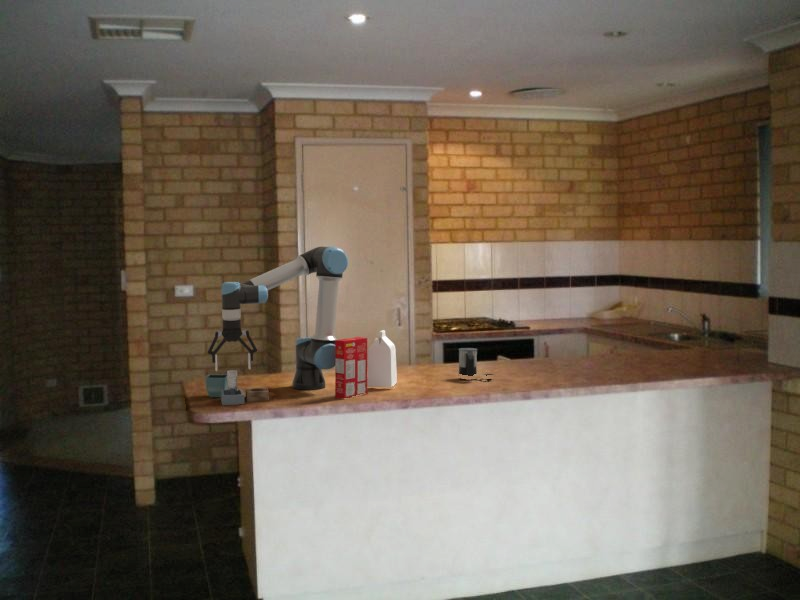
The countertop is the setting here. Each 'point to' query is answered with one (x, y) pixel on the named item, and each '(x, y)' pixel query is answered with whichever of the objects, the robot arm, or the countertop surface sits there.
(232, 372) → the steel pin
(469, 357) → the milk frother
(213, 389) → the flower pot
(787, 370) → the countertop surface
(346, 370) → the food packaging
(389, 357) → the milk
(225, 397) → the tray
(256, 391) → the socket block
